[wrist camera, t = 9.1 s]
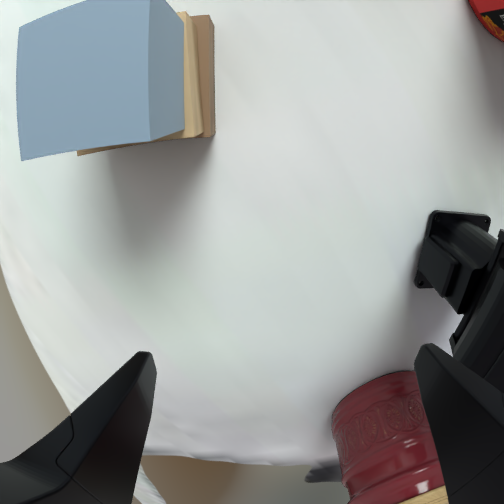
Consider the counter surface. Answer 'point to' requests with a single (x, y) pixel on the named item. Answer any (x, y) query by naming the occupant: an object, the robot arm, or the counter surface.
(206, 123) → the tower base
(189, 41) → the tower mid
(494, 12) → the canned food
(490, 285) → the robot arm
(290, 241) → the counter surface
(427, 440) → the canister
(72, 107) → the block
